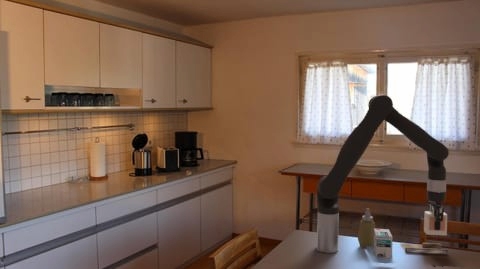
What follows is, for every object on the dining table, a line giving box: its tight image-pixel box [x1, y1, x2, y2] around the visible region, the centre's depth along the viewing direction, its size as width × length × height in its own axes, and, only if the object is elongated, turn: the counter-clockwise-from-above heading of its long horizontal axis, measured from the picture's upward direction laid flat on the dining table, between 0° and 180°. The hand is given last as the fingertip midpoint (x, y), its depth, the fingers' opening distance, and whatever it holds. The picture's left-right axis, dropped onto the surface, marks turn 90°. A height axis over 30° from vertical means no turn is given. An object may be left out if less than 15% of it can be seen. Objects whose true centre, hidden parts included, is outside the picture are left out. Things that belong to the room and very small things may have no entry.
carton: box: [423, 210, 448, 236], centre depth 189 cm, size 5×8×9 cm, turn 82°
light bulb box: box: [373, 227, 393, 259], centre depth 186 cm, size 11×7×11 cm, turn 168°
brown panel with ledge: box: [399, 242, 448, 255], centre depth 192 cm, size 17×12×4 cm
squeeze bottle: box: [357, 207, 376, 250], centre depth 198 cm, size 8×8×18 cm
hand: (435, 227), depth 189 cm, fingers closed on carton, 5 cm apart
